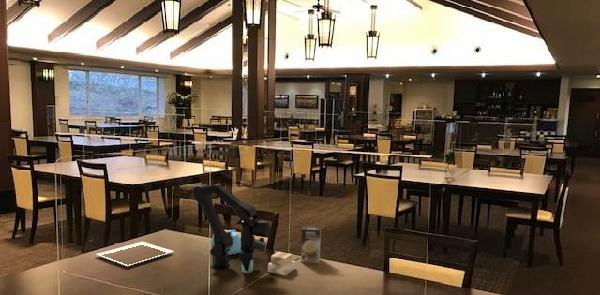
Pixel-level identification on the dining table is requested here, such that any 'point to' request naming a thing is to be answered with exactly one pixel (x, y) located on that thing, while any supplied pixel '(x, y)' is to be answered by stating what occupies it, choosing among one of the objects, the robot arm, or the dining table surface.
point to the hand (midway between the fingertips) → (247, 268)
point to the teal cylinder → (249, 267)
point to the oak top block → (281, 258)
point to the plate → (135, 246)
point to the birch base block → (281, 268)
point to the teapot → (236, 242)
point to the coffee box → (310, 244)
